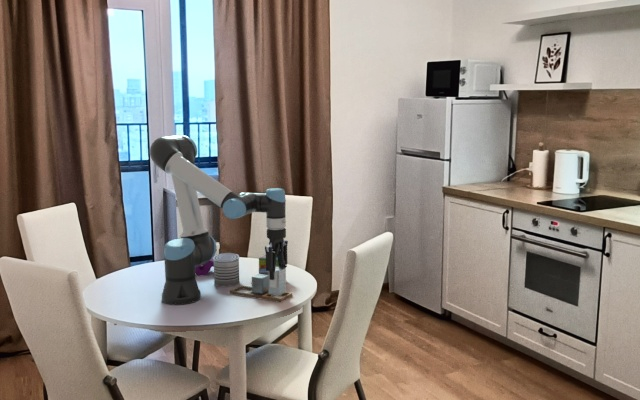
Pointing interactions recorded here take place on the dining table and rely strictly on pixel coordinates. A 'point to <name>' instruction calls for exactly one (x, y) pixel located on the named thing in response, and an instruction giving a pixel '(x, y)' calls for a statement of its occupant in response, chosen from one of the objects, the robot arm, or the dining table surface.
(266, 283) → the gray square block
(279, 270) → the grey square block
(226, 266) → the can
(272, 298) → the wooden ladder rack
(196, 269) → the mounting bracket
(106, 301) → the dining table surface
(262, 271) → the chalk box
